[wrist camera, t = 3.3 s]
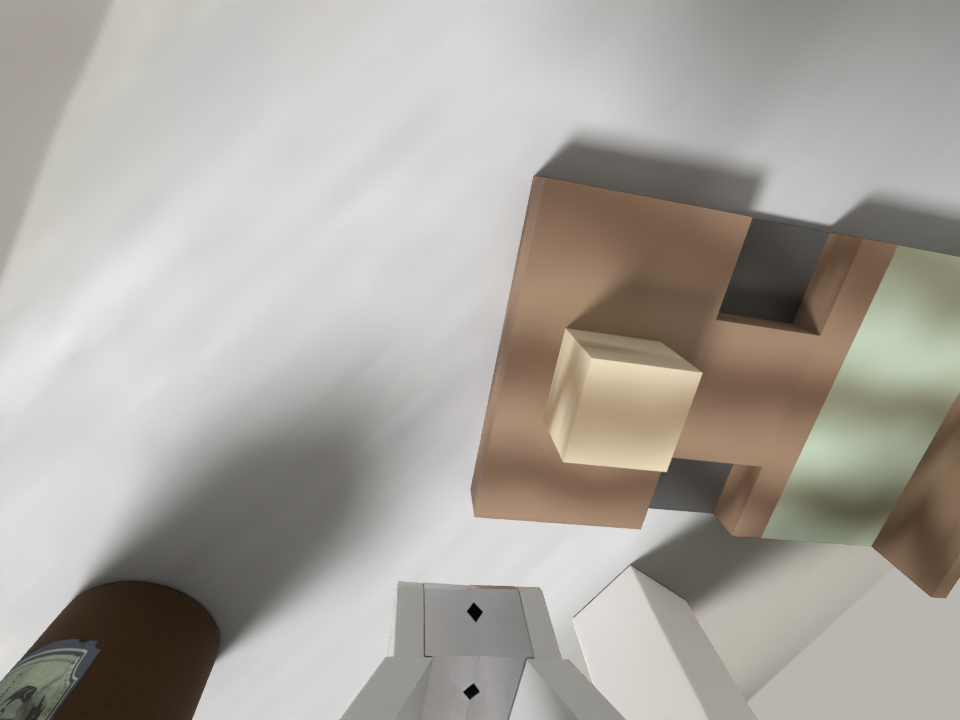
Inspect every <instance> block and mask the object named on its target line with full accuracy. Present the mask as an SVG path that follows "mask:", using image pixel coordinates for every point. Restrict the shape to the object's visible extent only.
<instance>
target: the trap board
mask: <svg viewBox="0 0 960 720" xmlns="http://www.w3.org/2000/svg"><path fill="white" fill-rule="evenodd" d="M565 328H568V329H575V330H582V331H589V332H596V333H604V334H611V335H618V336H625V337H632V338H639V339H646V340H653V341H660V342H662V343H663V344H664V345H666V346H667V347H669V348H670V349H671V350H673V351H674V352H675V353H677V354H678V355H679V356H681V357H682V358H683V359H685V360H686V361H687V362H689V363H690V364H692V365H693V366H694V367H696V368H697V369H698V370H700V371H701V372H702V373H703V374H702V376H701V379H700V382H699V385H698V387H697V390H696V393H695V396H694V398H693V401H692V404H691V407H690V409H689V412H688V415H687V418H686V420H685V423H684V426H683V429H682V431H681V434H680V437H679V440H678V442H677V445H676V448H675V451H674V453H673V456H672V459H671V462H670V464H669V467H668V470H667V472H660V471H650V470H639V469H629V468H618V467H608V466H597V465H587V464H576V463H566V462H563V461H562V459H561V457H560V454H559V452H558V450H557V448H556V446H555V444H554V442H553V440H552V437H551V435H550V433H549V431H548V429H547V427H546V425H545V422H544V420H543V417H544V413H545V409H546V405H547V401H548V397H549V393H550V388H551V384H552V380H553V376H554V372H555V368H556V364H557V360H558V356H559V352H560V348H561V344H562V340H563V336H564V332H565ZM471 496H472V503H473V510H474V517H481V518H494V519H508V520H522V521H535V522H549V523H562V524H576V525H589V526H603V527H616V528H630V529H641V527H642V524H643V522H644V519H645V516H646V513H647V510H648V508H653V509H665V510H677V511H690V512H702V513H713V514H714V515H715V516H716V518H717V519H718V520H719V521H720V522H721V524H722V525H723V526H724V527H725V528H726V530H727V531H728V532H729V533H730V534H731V536H738V537H751V538H765V539H778V540H792V541H805V542H819V543H832V544H846V545H859V546H871V547H873V548H874V549H875V550H876V551H877V552H879V553H880V554H881V555H882V556H883V557H884V558H886V559H887V560H888V561H889V562H890V563H891V564H893V565H894V566H895V567H896V568H897V569H899V570H900V571H901V572H902V573H903V574H904V575H906V576H907V577H908V578H909V579H910V580H912V581H913V582H914V583H915V584H916V585H917V586H919V587H920V588H921V589H922V590H923V591H924V592H926V593H927V594H928V595H929V596H930V597H936V598H946V597H947V595H948V594H949V593H950V591H951V590H952V588H953V587H954V585H955V584H956V582H957V580H958V579H959V578H960V257H958V256H952V255H947V254H942V253H937V252H932V251H926V250H921V249H916V248H911V247H906V246H900V245H895V244H890V243H885V242H880V241H874V240H869V239H864V238H858V237H852V236H846V235H839V234H833V233H827V232H822V231H817V230H812V229H807V228H801V227H796V226H791V225H786V224H781V223H775V222H770V221H765V220H760V219H755V218H753V217H750V216H744V215H739V214H734V213H729V212H724V211H718V210H713V209H708V208H703V207H698V206H692V205H687V204H682V203H677V202H672V201H666V200H661V199H656V198H651V197H646V196H641V195H635V194H630V193H625V192H620V191H615V190H609V189H604V188H599V187H594V186H589V185H583V184H578V183H573V182H568V181H563V180H557V179H552V178H547V177H537V176H533V181H532V186H531V191H530V196H529V201H528V206H527V211H526V216H525V221H524V226H523V231H522V236H521V241H520V246H519V251H518V256H517V261H516V266H515V271H514V276H513V281H512V286H511V291H510V296H509V301H508V306H507V311H506V316H505V321H504V326H503V331H502V336H501V341H500V346H499V351H498V356H497V361H496V366H495V371H494V376H493V380H492V385H491V390H490V395H489V400H488V405H487V410H486V415H485V420H484V425H483V430H482V435H481V440H480V445H479V450H478V455H477V460H476V465H475V470H474V475H473V480H472V485H471Z"/></svg>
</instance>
